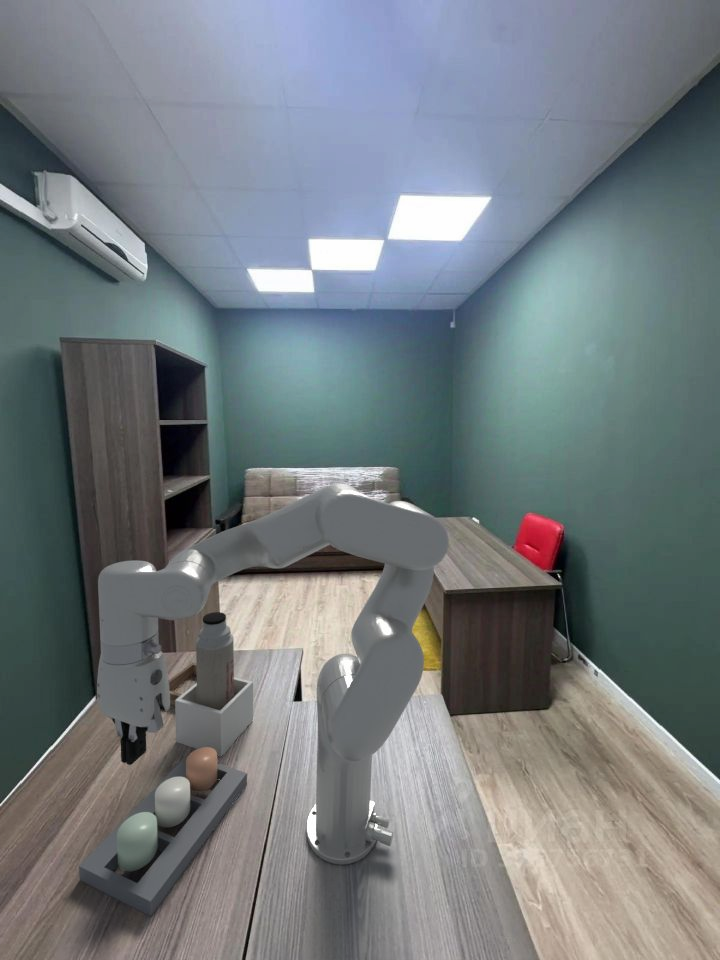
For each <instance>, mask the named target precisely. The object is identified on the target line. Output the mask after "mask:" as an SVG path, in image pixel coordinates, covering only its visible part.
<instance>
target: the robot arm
mask: <svg viewBox="0 0 720 960" xmlns="http://www.w3.org/2000/svg"><path fill="white" fill-rule="evenodd" d="M443 524H444V523H442V522H441V521H440V520H439V519H438V518H436V516H434V515H432V514H431V513H428V512H427V511H425V510H423V509H422V508H421V507H418V506H417V505H415V504H413V503H410V502H407V501H404V500H395V501H392V502H390V503H388V502H384V501H381V500H380V499H379V500H378V499H375V498H373V497H370V496H368V495H365V494H363V493H362V492H361V491H359V490H358V489H357V488H356V487H353V486H352V485H349V484H346V483H340V482H339V483H334V484H330V485H328V486H327V485H326V487H323V488H320V489H318V490H315V491H314V492H312V493H309V494H308V495H306V496H304V497H302V498H299V499H297V500H295V501H294V502H292V503H289V504H287V505H285V506H283V507H281V508H279V509H277V510H275V511H273V512H271V513H268V514H266V515H264V516H261V517H259V518H256V519H255V520H251V521H248V522H246V523H243V524H240V525H237V526H235V527H232V528H229V529H225V530H224V531H220V532H219V533H217V534H214V535H212V536H210V537H208V538H207V537H206V539H204V540H202V541H200V542H197V543H194V544H193V545H190V546H189V547H187V548H186V549H183V550H182V551H180V552H178V553H177V554H176V555H175V556H174V557H172V558H171V560H170V561H169V562H168V563H167V565H166V566H165V567H164V568H162V569H160V570H157V569H156V567H155V565H154V564H153V563H151V562H150V561H149V562H148V561H146V560H136V559H135V560H124V561H119V562H115V563H112V564H110V565H107V566H106V567H104V568H103V569H102V570H101V571H100V573H99V574H98V579H97V586H98V588H97V589H98V590H97V591H98V611H99V612H98V615H99V616H98V617H99V633H100V635H99V636H100V637H99V638H100V640H99V641H100V657H99V661H98V668H97V679H96V680H97V681H96V683H97V684H96V693H97V695H96V696H97V697H96V698H97V707H98V711H99V712H100V713H101V714H102V715H104V716H106V717H107V718H109V719H110V720H112V722H113V724H114V725H115V730H116V735H117V736H118V737H119V738H120V741H119V742H120V759H121V760H120V762H121V763H123V764H127V765H128V766H132V765H133V764H134V763H135V762H136V761H137V760H138V759H139V758H140V757H141V756H143V755H144V754H145V753H146V752H147V733H151V734H152V733H155V734H156V733H158V732H159V731H160V730H161V729H162V728H164V725H165V724H164V720H163V717H162V712H163V713H164V712H165V713H167V712H168V711H169V710H170V708H171V705H170V691H169V680H170V679H169V675H168V673H169V672H168V669H167V668H168V667H167V665H166V660H165V656H164V653H163V651H162V645H161V644H159V642H160V641H159V619H161V620H168V621H184V620H188V619H190V618H193V617H195V616H196V615H198V614H199V613H200V612H201V611H202V610H203V609H204V608H205V605H206V603H207V600H208V597H209V595H210V592H211V588H212V585H214V584H215V583H217V582H219V581H221V580H223V579H225V578H227V577H229V576H232V575H233V574H236V573H238V572H240V571H243V570H246V569H249V568H253V567H254V568H255V567H266V568H270V569H285V568H286V567H288V566H290V565H292V564H294V563H296V562H298V561H300V560H302V559H304V558H306V557H308V556H310V555H312V554H314V553H316V552H318V551H320V550H322V549H324V548H326V547H328V546H332V547H333V548H335V549H337V550H339V551H341V552H344V553H347V554H350V555H353V556H356V557H360V558H363V559H366V560H370V561H374V562H378V563H382V564H384V567H383V570H382V573H381V575H380V577H379V579H378V581H377V584H376V585H375V587H374V589H373V590H372V592H371V594H370V596H369V597H368V599H367V601H366V602H365V604H364V605H363V608H362V610H361V611H360V613H359V614H358V616H357V618H356V620H355V621H354V623H353V626H352V630H351V632H350V633H351V635H350V636H351V643H352V646H353V649H354V652H355V655H354V654H351V653H340V654H336V655H334V656H332V657H331V658H329V659H328V660H327V661H326V662H325V663H324V664H323V666H322V668H321V670H320V672H319V673H318V677H317V681H316V708H317V709H316V711H317V715H316V716H317V745H316V746H317V748H316V749H317V751H316V779H315V780H316V785H315V787H316V790H315V792H316V793H315V804H314V806H313V807H312V809H311V810H310V812H309V814H308V817H307V820H306V821H307V822H306V838H307V842H308V844H309V846H310V848H311V850H312V851H313V852H314V854H315V855H316V856H317V857H319V858H321V860H323V861H325V862H328V863H329V864H330V863H331V864H333V865H341V866H342V865H349V864H353V863H355V862H359V861H360V860H362V859H364V858H365V857H366V856H367V855H368V854H369V853H370V852H371V850H372V849H373V848H374V846H375V844H376V842H379V843H380V844H382V845H385V846H388V847H392V842H393V837H394V832H393V831H391V830H387V829H389V826H390V818H389V817H384V816H380V815H378V812H375V806H376V805H375V804H376V803H375V802H374V801H372V800H371V789H372V788H371V787H372V785H371V784H372V769H373V768H372V767H373V766H372V765H373V764H372V763H373V755H374V754H375V753H377V752H378V751H379V750H380V749H381V748H382V746H384V745H385V743H386V741H387V740H388V739H389V737H390V736H391V733H392V732H393V730H394V729H395V727H396V725H397V724H398V722H399V720H400V719H401V716H402V715H403V713H404V711H405V710H406V708H407V706H408V704H409V703H410V701H411V699H412V697H413V696H414V694H415V692H416V691H417V688H418V686H419V684H420V682H421V680H422V676H423V672H424V667H425V660H424V659H425V657H424V651H423V649H422V646H421V643H420V642H419V641H418V639H417V637H416V636H415V634H414V633H413V628H414V625H415V623H416V621H417V619H418V617H419V616H420V614H421V611H422V609H423V607H424V605H425V604H426V601H427V599H428V598H429V597H428V596H429V594H430V592H431V589H432V586H433V585H432V584H433V580H434V575H435V574H434V572H435V571H434V570H435V567H436V566H438V564H440V563H441V562H442V561H443V559H444V558H445V557H446V554H447V552H448V549H449V543H450V542H449V541H450V540H449V536H448V532H447V529H446V527H445V526H444V525H443ZM378 826H380V827H382V828H380V827H378Z"/></svg>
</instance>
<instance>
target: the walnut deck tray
mask: <svg viewBox="0 0 720 960" xmlns="http://www.w3.org/2000/svg"><path fill="white" fill-rule="evenodd" d="M193 675H194V676H197V669H196V663H195V662H191V663H190V664H188V665H187V667H185V668H183V669H182V670H181V671H179V672H178V673H177V674H175V675H174V676H172V677H171V678H170V679H168V680H169V691H170V706H174V707H175V700H176V699H177V698H178V697H180V696H181V695H182V694H183V693H178V692H175V689H177V688H179V686H181V685H182V684H184V683H185V682H186V681H187V680H188V679H190V678H191V677H192V676H193Z"/></svg>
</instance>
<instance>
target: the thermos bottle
mask: <svg viewBox="0 0 720 960" xmlns="http://www.w3.org/2000/svg"><path fill="white" fill-rule="evenodd" d="M202 622H203V627H202V628H201V629H200V630H199V632H198V633H199V634H198V638H197V640H196V641H195V642H196V643H195V650H196V651H195V656H196V660H195V661H196V669H197V675H196V683H197V704H200V705H203V706H206V707H210V708H213V709H217V710H221V709H222V708H223V707H224V706H225V705H226V704H227V703H228V702H229V701H231V700H232V699H233V698H234V677H235V673H234V672H235V671H234V670H235V667H234V666H235V665H234V664H235V663H234V661H235V660H234V658H235V657H234V656H235V655H234V643H235V642H234V641H235V640H234V638H235V637H234V636H233V635H232V631H231V628H230V626H229V625H227V615H226V613H224V612H222V611H221V612H220V611H213V612H210V613H207V614H205V615H204V616H203V617H202Z"/></svg>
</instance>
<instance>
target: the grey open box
mask: <svg viewBox="0 0 720 960" xmlns="http://www.w3.org/2000/svg"><path fill="white" fill-rule="evenodd" d="M181 694H182V695H181V696H180V697H178V698H177V699H176V700H175V706H174V707H175V708H174V709H175V710H174V711H175V714H174V715H175V742H176V743H179V744H183V745H185V746H188V747H191V748H194V749H195V750H196V749H199V748H203V747H210V748H213V749H215V750H216V752H217V755H219V756H218V757H220V756H222V755H223V754H224V755H225V754H226V753H227V752H228V751H229V749H230V748H231V747H232V746H233V744H234V743H235V742H236V741H237V740H236V739H238V738H239V737H240V736H241V735H242V734H243V733H244V732H245V730H246V729H247V728H248V727H249V726H250V725H251V723H252V722H253V721H254V682H253V681H251V680H247V679H244V678H239V677H236V676H234V698H233V699H232V700H231V701H229V702H228V703H227V704H226V705H225V706H224V707H223V708H222V709H221V710H217V709H213V708H210V707H206V706H203V705H200V704H197V682H196V683H194V684H193V685H192V686H191V687H190V688H188V689H187V690H185V692H183V693H181ZM252 720H253V721H252ZM249 724H250V725H249ZM248 725H249V726H248ZM247 726H248V727H247ZM242 732H243V733H242ZM241 733H242V734H241ZM240 734H241V735H240ZM239 735H240V736H239ZM238 736H239V737H238ZM237 737H238V738H237ZM235 740H236V741H235ZM234 741H235V742H234ZM233 742H234V743H233ZM229 747H230V748H229ZM224 755H223V756H224ZM223 756H222V757H223Z"/></svg>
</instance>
